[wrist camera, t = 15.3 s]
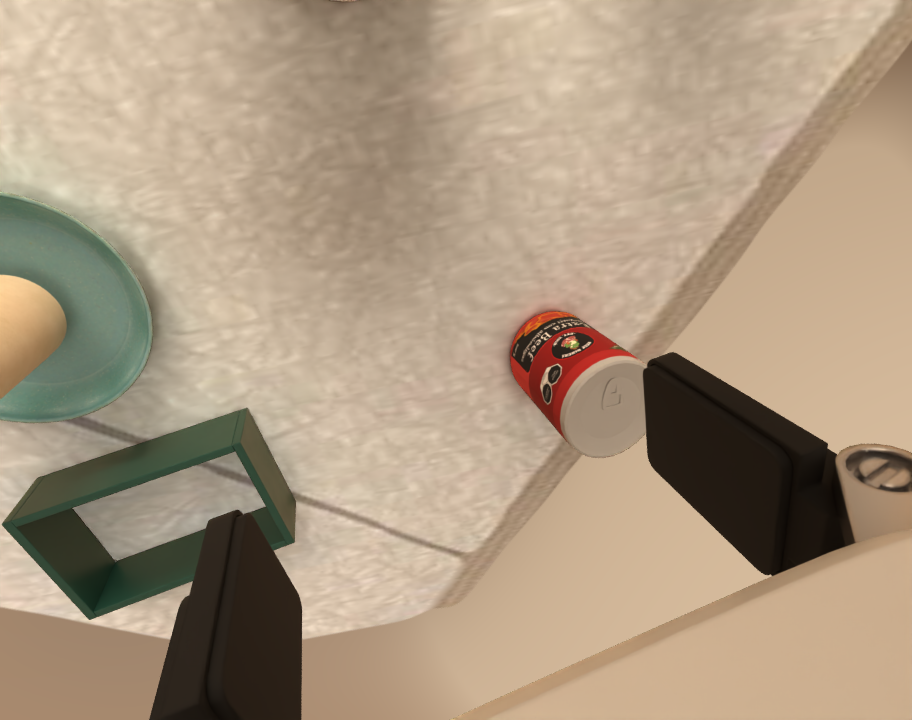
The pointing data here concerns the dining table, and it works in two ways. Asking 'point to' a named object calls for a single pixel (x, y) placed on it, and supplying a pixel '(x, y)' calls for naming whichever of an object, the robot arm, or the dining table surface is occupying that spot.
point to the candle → (26, 329)
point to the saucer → (74, 313)
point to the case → (53, 496)
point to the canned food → (581, 383)
